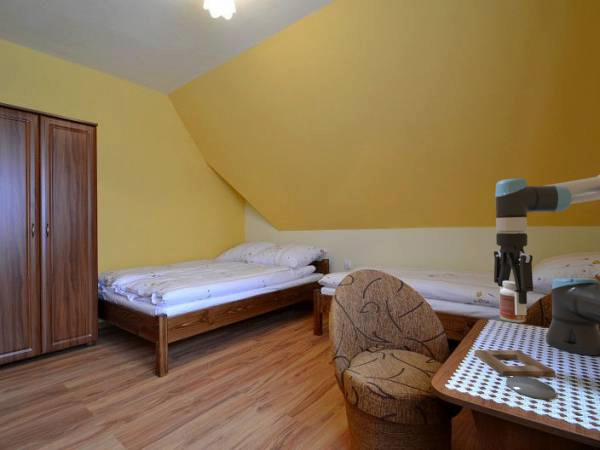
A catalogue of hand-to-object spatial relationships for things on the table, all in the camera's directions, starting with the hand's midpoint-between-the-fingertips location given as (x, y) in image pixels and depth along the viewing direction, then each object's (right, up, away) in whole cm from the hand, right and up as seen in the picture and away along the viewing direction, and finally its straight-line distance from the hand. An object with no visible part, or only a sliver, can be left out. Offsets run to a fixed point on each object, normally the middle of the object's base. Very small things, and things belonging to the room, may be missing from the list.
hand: (512, 311), depth 91 cm
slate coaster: (-4, -16, -13) cm, 21 cm away
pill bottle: (0, -3, 0) cm, 3 cm away
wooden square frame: (0, -16, 0) cm, 16 cm away
